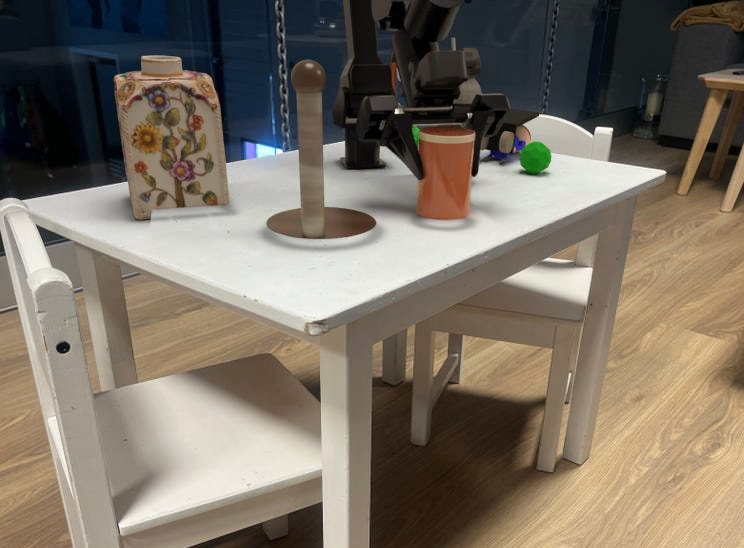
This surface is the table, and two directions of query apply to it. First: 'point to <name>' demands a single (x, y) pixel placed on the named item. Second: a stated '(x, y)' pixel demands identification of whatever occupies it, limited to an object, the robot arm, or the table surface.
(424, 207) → the tumbler
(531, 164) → the polyhedron
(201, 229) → the table surface
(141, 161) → the decorative jar
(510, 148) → the figurine character
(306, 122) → the towel holder
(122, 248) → the table surface
